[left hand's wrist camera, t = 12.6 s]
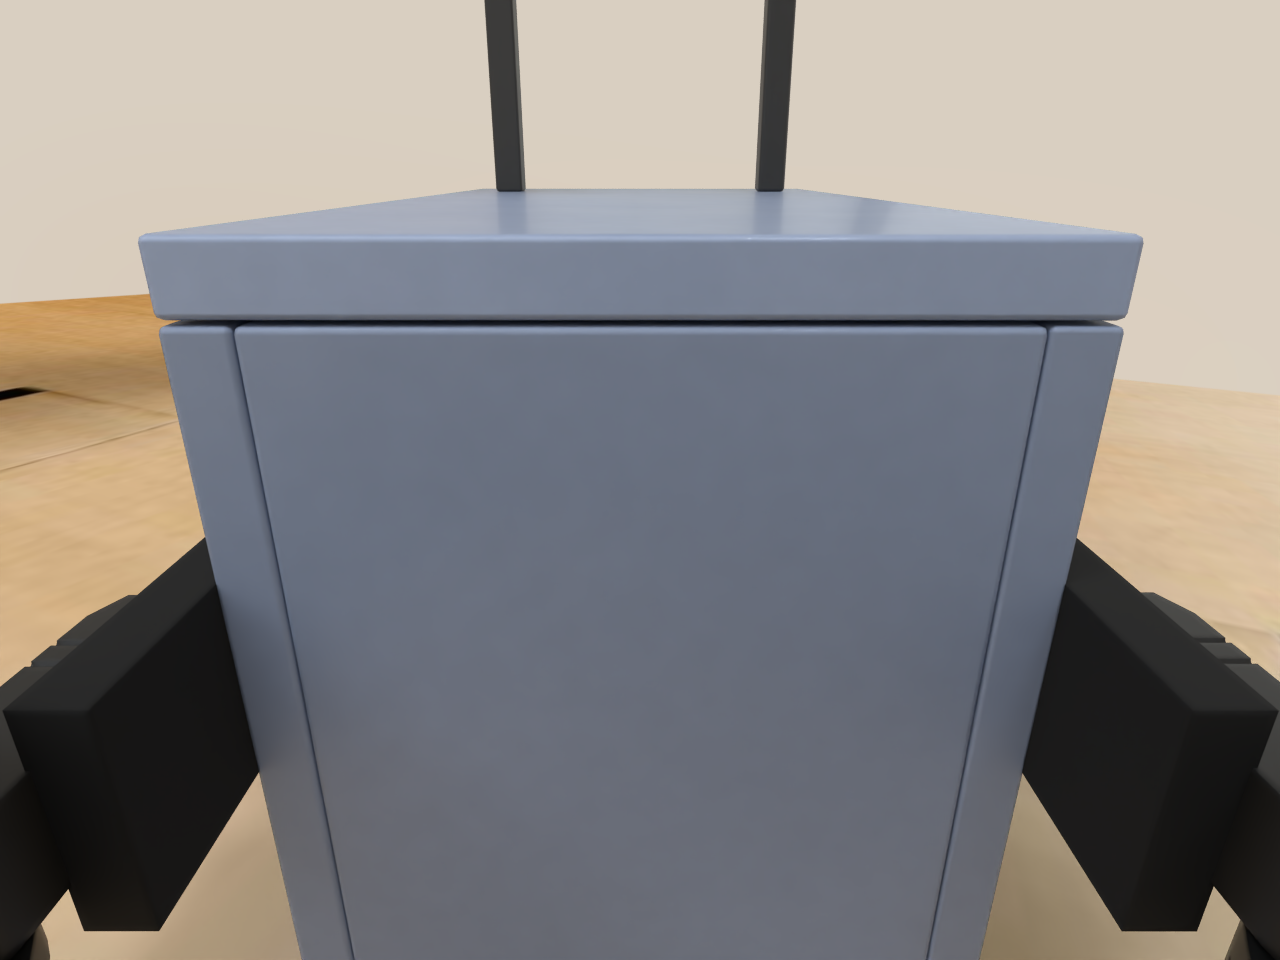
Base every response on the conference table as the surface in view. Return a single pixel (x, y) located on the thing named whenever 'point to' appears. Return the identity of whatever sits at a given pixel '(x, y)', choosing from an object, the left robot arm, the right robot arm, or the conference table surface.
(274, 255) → the lid
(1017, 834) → the conference table surface
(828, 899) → the chest
